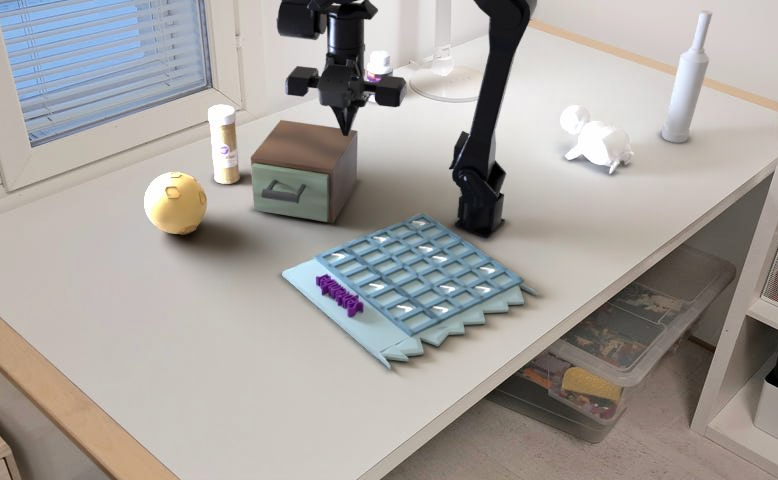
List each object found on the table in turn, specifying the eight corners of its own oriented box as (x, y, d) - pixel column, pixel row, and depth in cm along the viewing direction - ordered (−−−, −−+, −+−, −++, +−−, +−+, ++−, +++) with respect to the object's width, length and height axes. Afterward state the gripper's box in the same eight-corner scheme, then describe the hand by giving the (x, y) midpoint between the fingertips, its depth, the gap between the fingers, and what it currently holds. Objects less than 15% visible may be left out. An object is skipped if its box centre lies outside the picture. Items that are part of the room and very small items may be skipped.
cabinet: (333, 223, 146) (332, 170, 140) (253, 210, 149) (250, 157, 143) (356, 181, 157) (357, 130, 151) (282, 170, 160) (280, 119, 154)
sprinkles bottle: (217, 186, 155) (210, 116, 147) (212, 174, 158) (206, 105, 150) (242, 183, 156) (237, 113, 148) (237, 171, 160) (232, 102, 151)
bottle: (691, 143, 172) (725, 17, 157) (664, 142, 172) (696, 16, 157) (683, 131, 176) (716, 7, 161) (658, 131, 176) (688, 7, 161)
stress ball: (155, 250, 139) (146, 195, 133) (143, 219, 146) (135, 166, 140) (216, 238, 142) (211, 184, 136) (202, 208, 149) (196, 156, 143)
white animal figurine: (622, 173, 168) (567, 122, 173) (645, 141, 162) (587, 89, 166) (597, 188, 163) (541, 135, 168) (620, 156, 157) (561, 102, 161)
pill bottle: (362, 100, 185) (363, 56, 179) (372, 90, 189) (373, 47, 183) (386, 105, 183) (387, 60, 177) (395, 95, 187) (397, 51, 181)
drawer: (318, 237, 141) (317, 193, 136) (243, 225, 144) (239, 180, 139) (350, 183, 155) (350, 140, 150) (281, 172, 158) (279, 130, 153)
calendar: (538, 298, 131) (541, 285, 130) (391, 371, 117) (392, 358, 116) (422, 219, 148) (423, 207, 146) (282, 276, 134) (281, 263, 133)
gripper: (271, 56, 130) (276, 150, 140) (393, 69, 127) (390, 164, 136) (294, 30, 139) (298, 120, 148) (409, 41, 135) (405, 133, 145)
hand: (346, 135), depth 144 cm, fingers closed
